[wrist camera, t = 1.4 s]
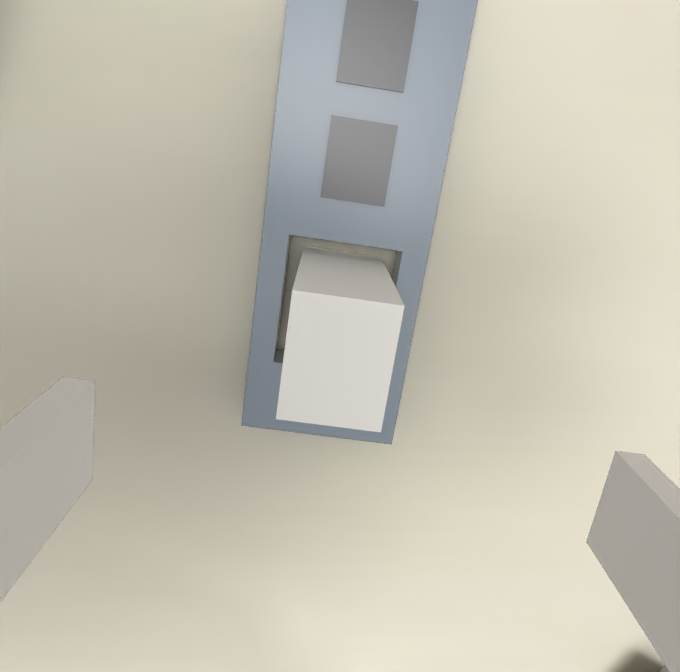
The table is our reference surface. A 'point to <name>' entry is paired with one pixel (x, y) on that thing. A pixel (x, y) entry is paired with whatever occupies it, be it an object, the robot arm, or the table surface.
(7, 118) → the table surface
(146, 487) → the table surface
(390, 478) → the table surface
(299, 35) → the power strip
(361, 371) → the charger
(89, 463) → the robot arm
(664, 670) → the network device
